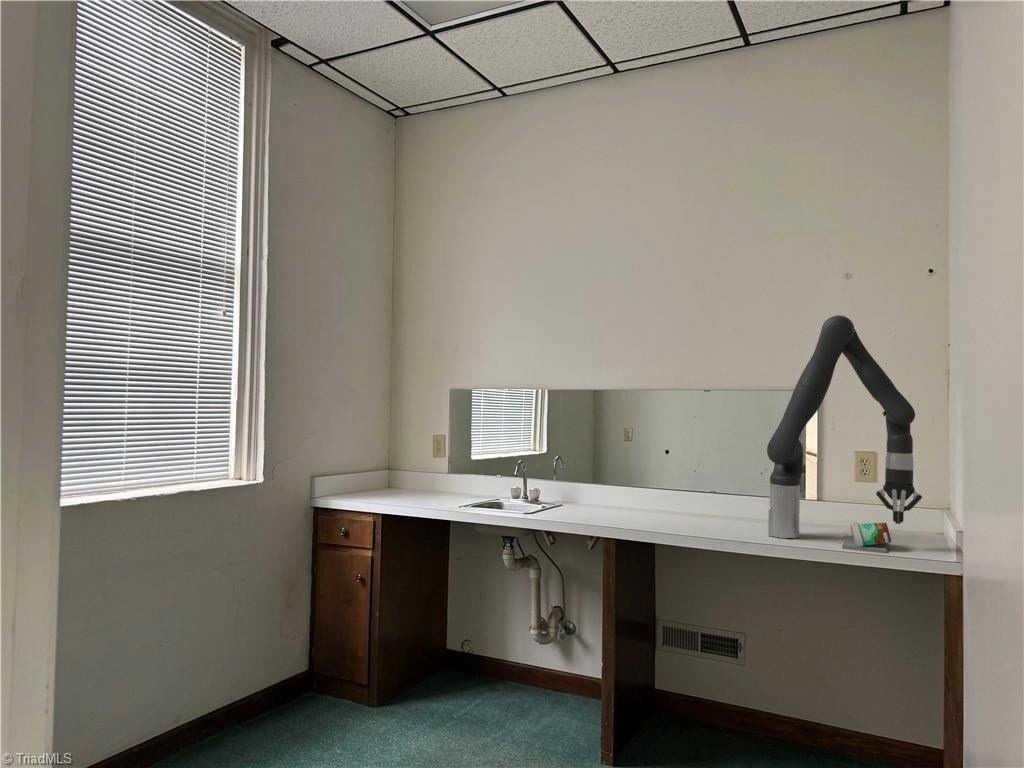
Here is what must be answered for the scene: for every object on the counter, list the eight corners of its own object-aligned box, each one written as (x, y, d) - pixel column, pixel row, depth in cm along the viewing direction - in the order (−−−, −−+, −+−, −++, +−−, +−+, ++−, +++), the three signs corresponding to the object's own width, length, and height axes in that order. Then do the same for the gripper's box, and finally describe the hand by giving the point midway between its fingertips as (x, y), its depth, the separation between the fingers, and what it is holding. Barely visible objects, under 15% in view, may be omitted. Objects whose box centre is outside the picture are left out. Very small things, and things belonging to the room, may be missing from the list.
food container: (887, 522, 213) (851, 526, 217) (892, 543, 213) (856, 546, 216) (882, 515, 225) (848, 519, 228) (887, 534, 224) (852, 538, 228)
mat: (842, 548, 218) (842, 545, 218) (845, 538, 232) (845, 535, 232) (886, 553, 212) (886, 550, 212) (886, 542, 226) (886, 540, 226)
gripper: (874, 466, 218) (873, 523, 218) (924, 470, 211) (923, 528, 211) (875, 464, 224) (874, 519, 224) (923, 467, 218) (922, 523, 218)
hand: (898, 523), depth 218 cm, fingers closed
